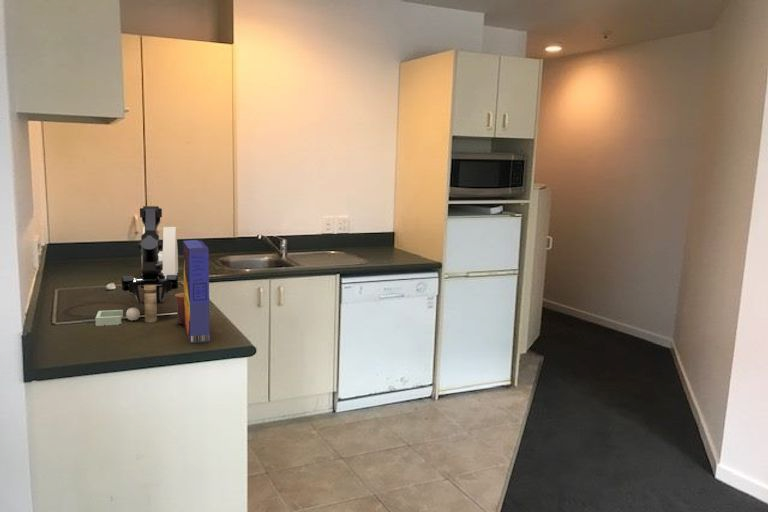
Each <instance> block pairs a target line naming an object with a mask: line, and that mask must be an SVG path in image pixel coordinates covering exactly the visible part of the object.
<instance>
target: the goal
mask: <svg viewBox="0 0 768 512" xmlns="http://www.w3.org/2000/svg"><path fill="white" fill-rule="evenodd" d="M123 310H124V309H114V310H113V309H112V310H98V311H97V314H96V316H95V327H102V326H103V327H104V325H105V326H120V325H119V324H121V325H122V319H124V311H123Z"/></svg>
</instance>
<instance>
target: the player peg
mask: <svg viewBox="0 0 768 512" xmlns="http://www.w3.org/2000/svg"><path fill="white" fill-rule="evenodd" d="M156 292H157V290H156V284H146V285H144V288H143V293H144V299H143V300H144V301H145V302H144V322H145V323H155V321H156V322H158V307H157V304H158V303H157V296H156Z"/></svg>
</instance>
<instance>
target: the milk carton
mask: <svg viewBox="0 0 768 512" xmlns="http://www.w3.org/2000/svg"><path fill="white" fill-rule="evenodd" d="M144 233H145V226H143V227H142V235H143V234H144ZM162 233H163V235H162V236H163V237H162V244H163V248H162V250H159V253H158V256H159V261H163V270H162V271H161V273H163V274H164V276H165V279H166V275H177V276H178V274H177V273H179V251H178V249H179V248H178V237H177V236H178V235H177V227H176V226H163V232H162Z"/></svg>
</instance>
